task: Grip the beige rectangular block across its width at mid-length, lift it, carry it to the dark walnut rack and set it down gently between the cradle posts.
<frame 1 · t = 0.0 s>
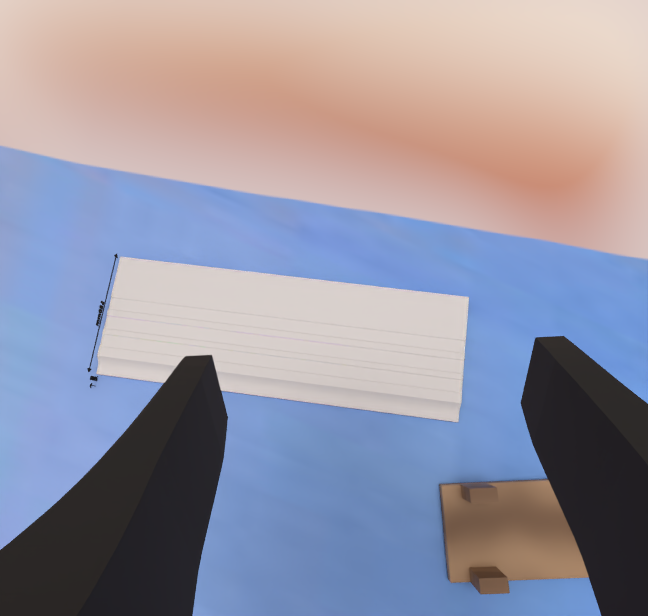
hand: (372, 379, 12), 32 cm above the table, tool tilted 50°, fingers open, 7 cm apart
rack: (539, 526, 41), on the table
baseboard molding: (281, 346, 46), on the table
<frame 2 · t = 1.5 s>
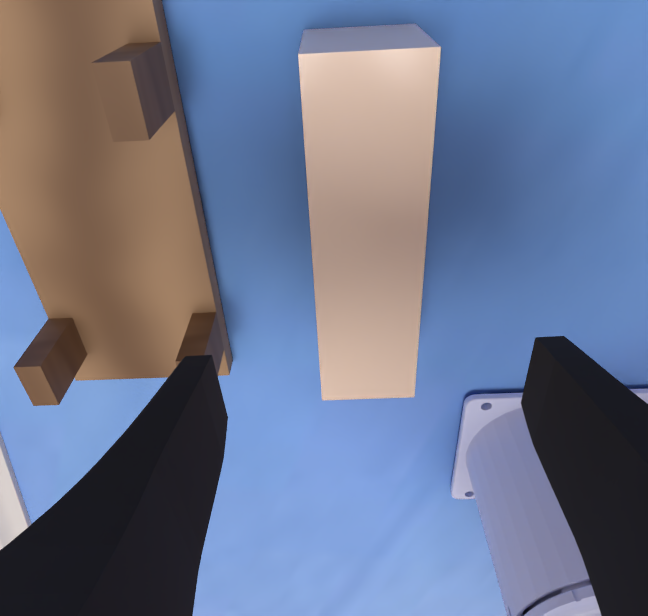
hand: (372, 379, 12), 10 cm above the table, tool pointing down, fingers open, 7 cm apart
rack: (112, 216, 20), on the table
beige rectangular block: (360, 202, 20), on the table
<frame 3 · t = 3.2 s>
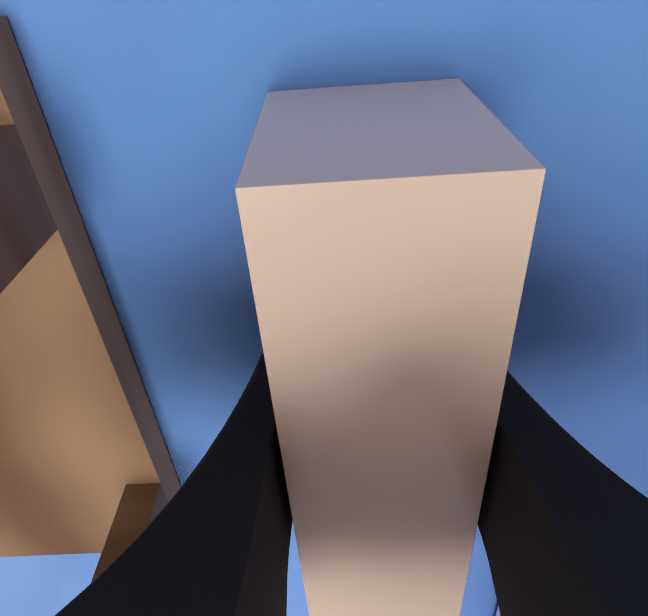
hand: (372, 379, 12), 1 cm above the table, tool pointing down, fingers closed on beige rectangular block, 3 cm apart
beige rectangular block: (367, 338, 13), on the table, touching gripper
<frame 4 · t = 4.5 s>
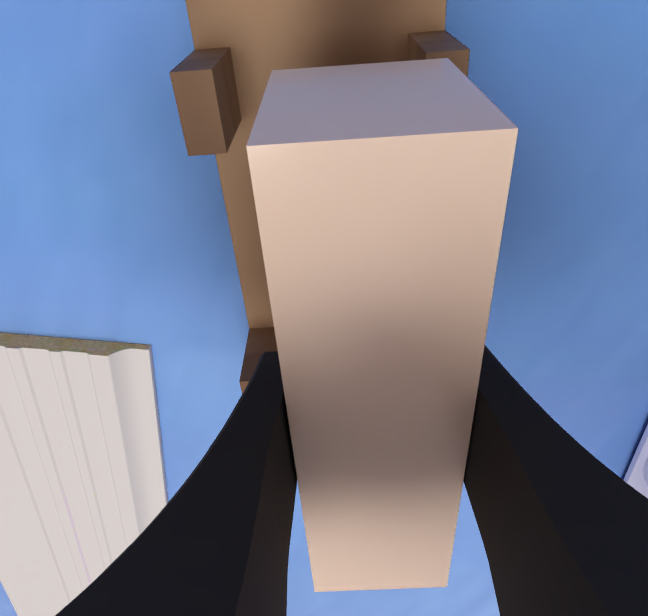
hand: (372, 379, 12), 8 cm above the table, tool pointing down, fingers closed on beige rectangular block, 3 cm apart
rack: (331, 219, 19), on the table
baseboard molding: (99, 525, 32), on the table
beige rectangular block: (364, 307, 14), point 6 cm above the table, touching gripper
when the fingers open (3 cm above the table, at t = 5.9 s): beige rectangular block stays where it is, resting on rack.
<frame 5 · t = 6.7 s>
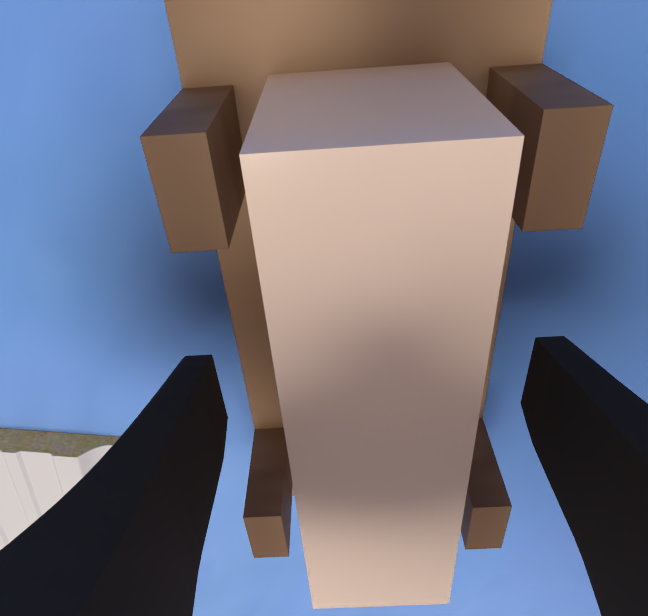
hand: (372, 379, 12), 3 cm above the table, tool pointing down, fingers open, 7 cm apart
rack: (362, 298, 14), on the table
baseboard molding: (77, 615, 27), on the table
beige rectangular block: (364, 316, 14), point 1 cm above the table, touching rack
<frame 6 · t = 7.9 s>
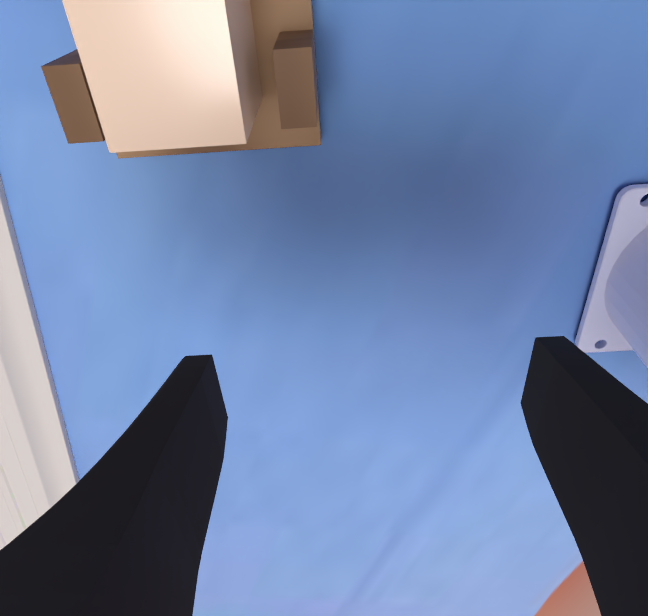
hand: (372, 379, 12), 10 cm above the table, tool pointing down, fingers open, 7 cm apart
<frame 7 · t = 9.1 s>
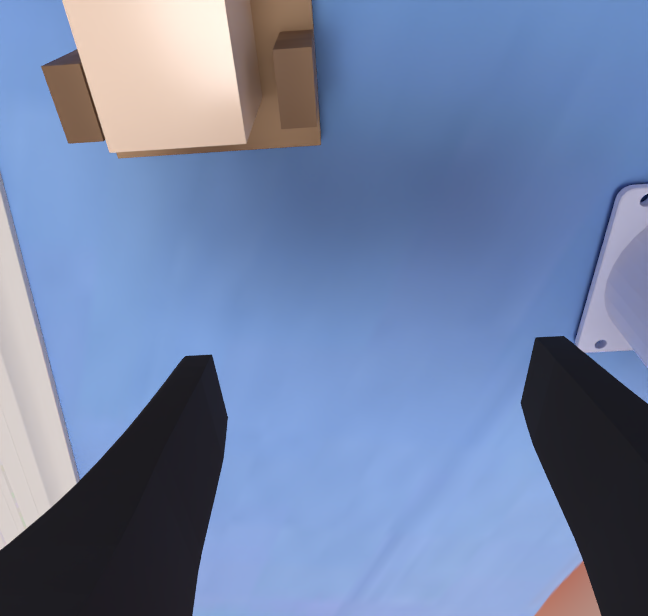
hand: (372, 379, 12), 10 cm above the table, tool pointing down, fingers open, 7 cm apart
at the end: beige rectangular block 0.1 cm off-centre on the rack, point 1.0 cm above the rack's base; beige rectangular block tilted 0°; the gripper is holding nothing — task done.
